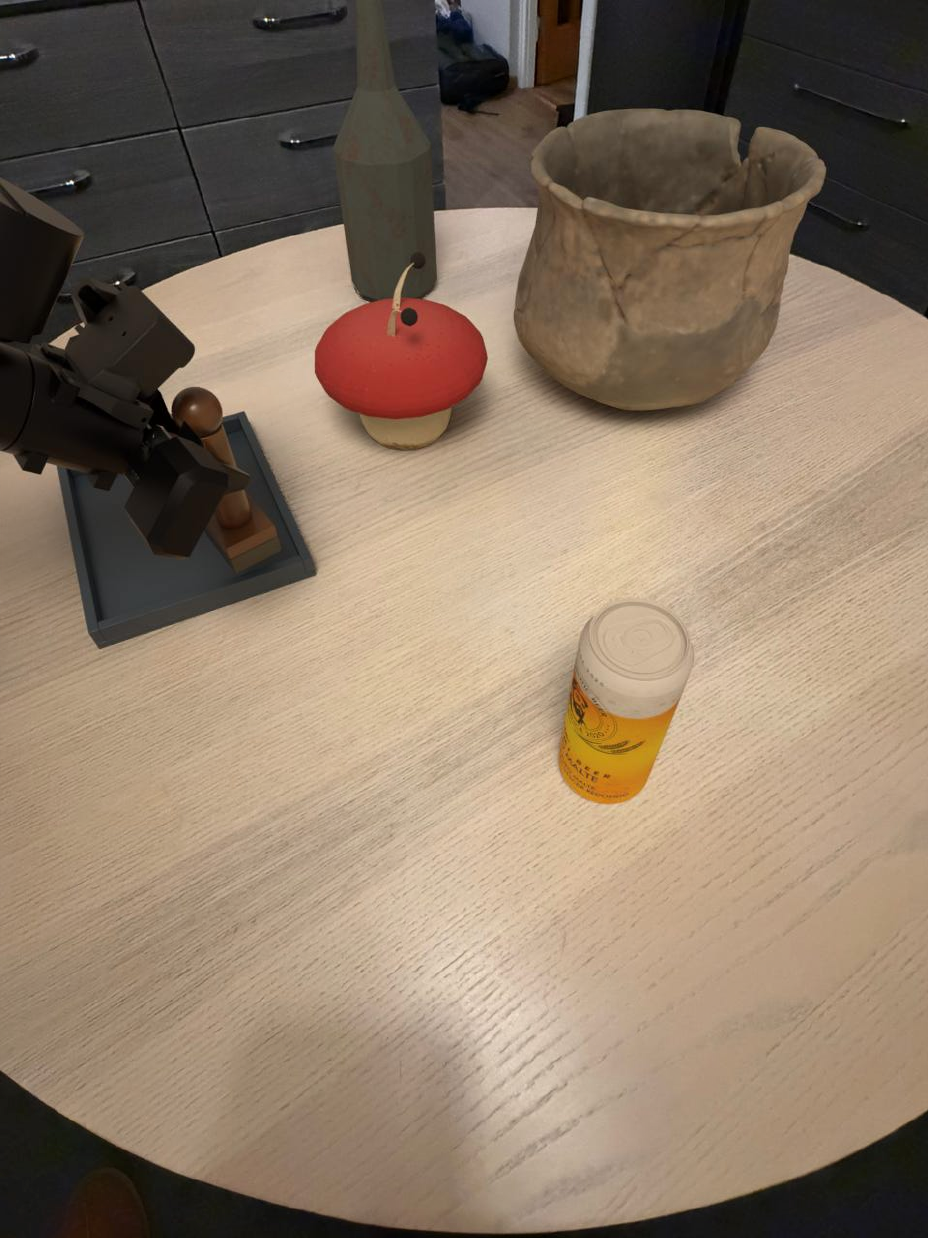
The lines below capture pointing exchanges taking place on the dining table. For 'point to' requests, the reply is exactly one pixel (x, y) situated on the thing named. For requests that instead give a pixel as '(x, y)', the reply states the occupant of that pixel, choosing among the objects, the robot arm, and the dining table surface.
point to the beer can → (623, 697)
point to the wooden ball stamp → (237, 516)
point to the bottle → (384, 174)
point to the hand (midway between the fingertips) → (238, 471)
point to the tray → (161, 586)
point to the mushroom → (401, 365)
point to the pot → (659, 253)
